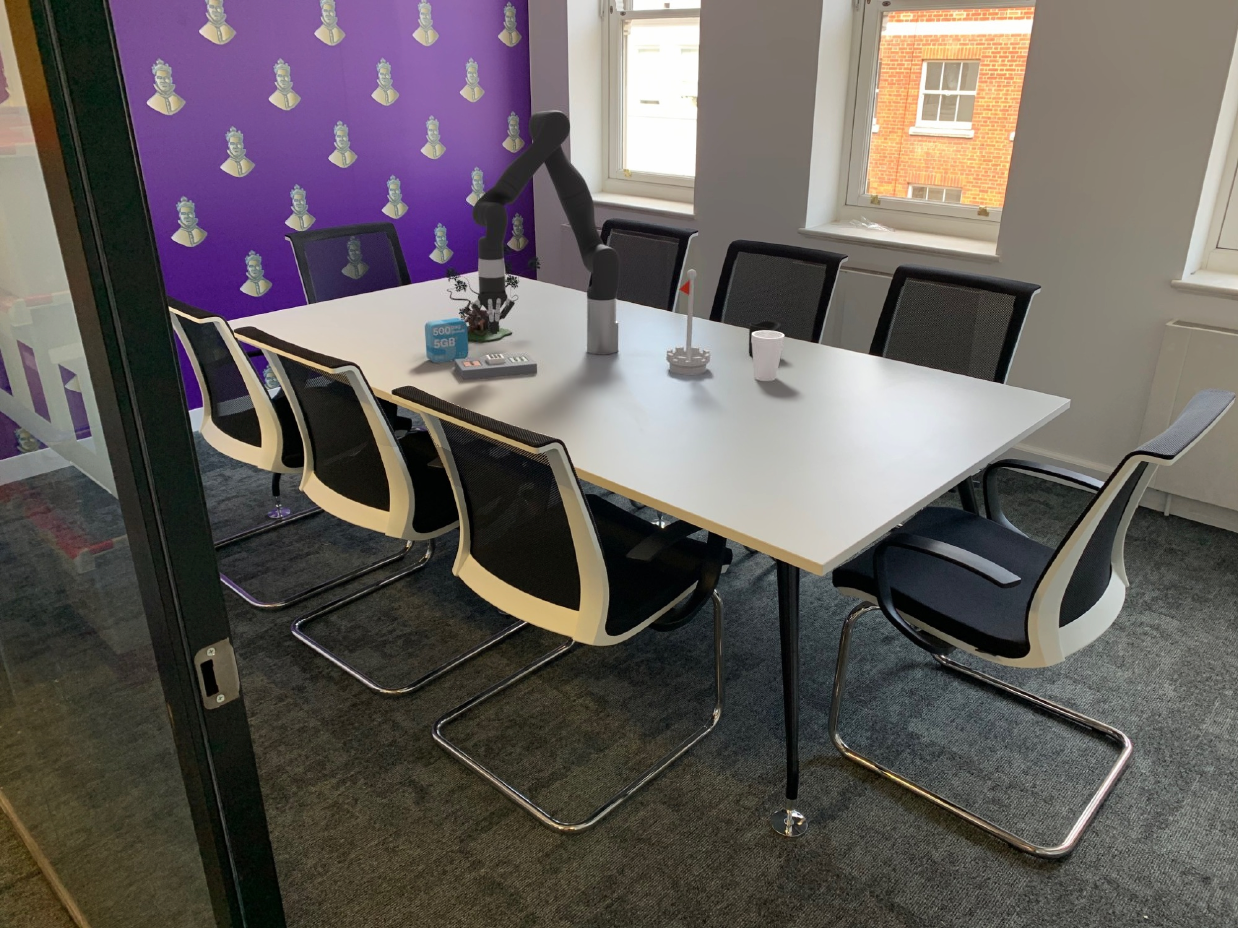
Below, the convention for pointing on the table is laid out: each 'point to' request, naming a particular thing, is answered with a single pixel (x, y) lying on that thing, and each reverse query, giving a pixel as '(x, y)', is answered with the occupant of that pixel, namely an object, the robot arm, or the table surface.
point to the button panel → (495, 367)
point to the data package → (446, 340)
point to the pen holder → (759, 327)
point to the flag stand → (688, 341)
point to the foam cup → (766, 353)
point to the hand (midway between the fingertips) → (493, 333)
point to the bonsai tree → (477, 324)
